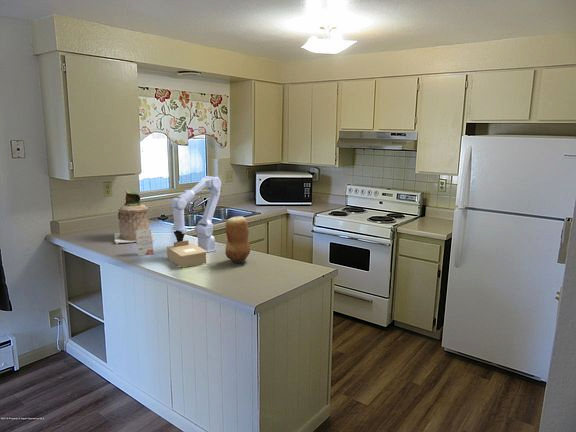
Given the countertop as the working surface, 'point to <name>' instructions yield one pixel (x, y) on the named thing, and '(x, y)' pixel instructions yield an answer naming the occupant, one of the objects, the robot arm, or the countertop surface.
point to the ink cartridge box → (144, 242)
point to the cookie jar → (132, 219)
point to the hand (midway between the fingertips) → (180, 243)
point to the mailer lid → (186, 249)
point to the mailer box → (186, 259)
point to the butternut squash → (237, 239)
